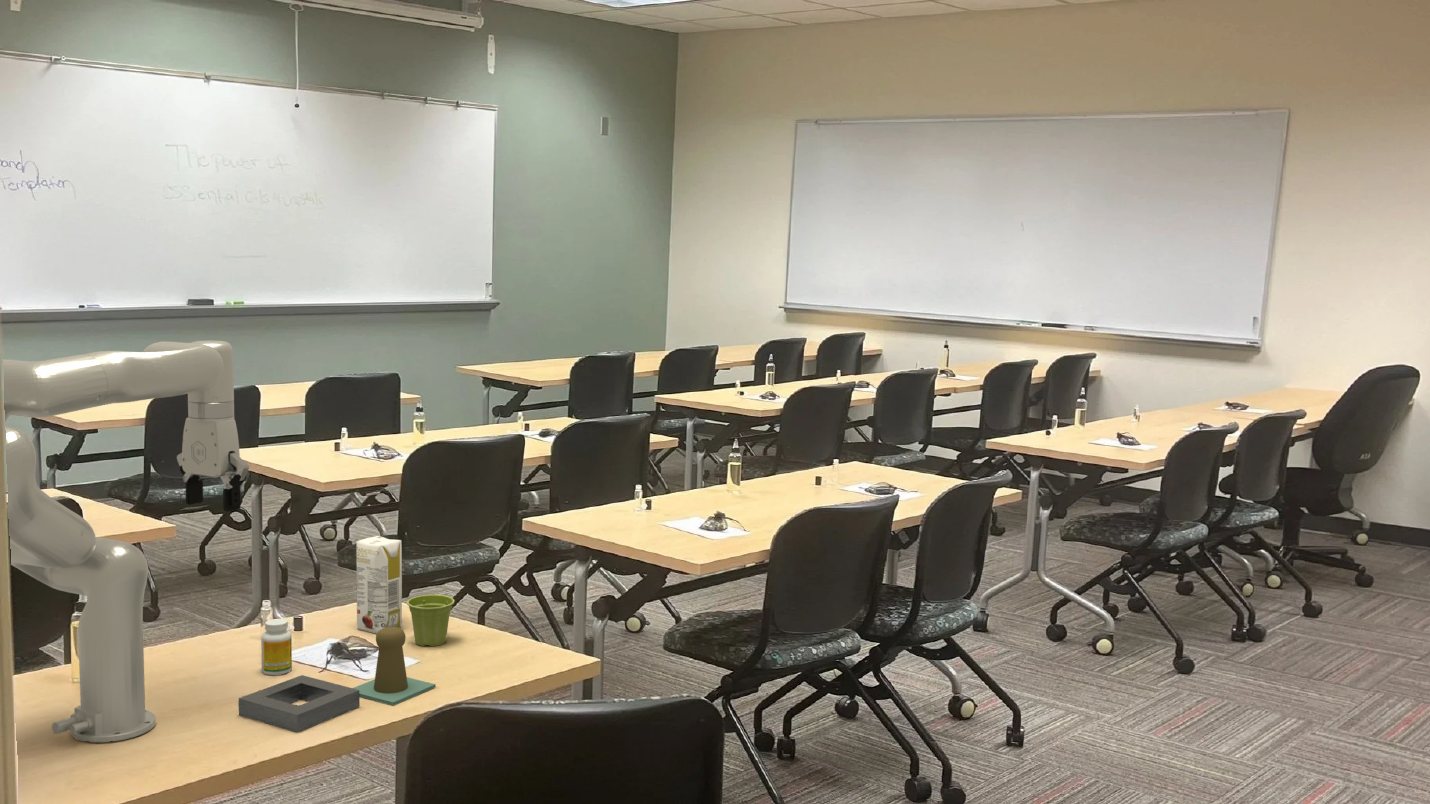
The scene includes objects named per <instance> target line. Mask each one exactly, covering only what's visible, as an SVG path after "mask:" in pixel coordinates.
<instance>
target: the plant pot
mask: <svg viewBox="0 0 1430 804" xmlns="http://www.w3.org/2000/svg"><path fill="white" fill-rule="evenodd" d="M406 604H407V607H408V608H409V612H410V615H411V620H412V621H411V622H412V627H413V628H412V629H413V637H414V643H415V644H416V645H419V646H421V647H425V646H430V647H437V646H441V645H443V644H445V642H446V641H447V635H448V629H449V628H448V627H449V621H450V615H451V611H452V608H453V605H454V604H455V599H454V598H453V597H452V596H449V595H443V594H424V595H418V596H414V597H410V598H408V600H407V601H406Z"/></svg>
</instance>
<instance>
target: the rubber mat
mask: <svg viewBox="0 0 1430 804" xmlns="http://www.w3.org/2000/svg"><path fill="white" fill-rule="evenodd" d="M374 682H375V678H374V679H372V680H369V681H367V682H365V683H361V684H359V685H356V686H354V687H352V688H353V689H357V690H359V694H360V698H363V699H366V700H369V701H374V702H378V703H381V704H386V705H389V706H395V705H398V704H400V703H403V702H406V701H407V700H409V699H412V698H414V697H417V696H420V695H421V694H423V693H426V692H428V691H430V690H433V689H435V688H436V684H435V683H432V682H427V681H425V680H420V679H416V678H412V677H408V676H407V683H408V688H407V689H406V690H404V691H402V692H398V693H379V692H376V691H375V690H374ZM434 687H435V688H434ZM432 688H433V689H432Z"/></svg>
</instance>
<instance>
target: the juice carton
mask: <svg viewBox="0 0 1430 804" xmlns="http://www.w3.org/2000/svg"><path fill="white" fill-rule="evenodd" d="M355 543H356V544H355V545H356V627H357V630H361V631H364V632H369V633H372V634H376V635H377V633H378V631H379V630H381V629H383V628H387V627H398V628H400V629H402V623H403V622H402V621H403V618H402V617H403V615H402V614H403V608H402V606H403V604H402V603H403V595H402V594H403V589H402V588H403V587H402V585H403V580H402V579H403V576H402V575H403V573H402V572H403V571H402V570H403V569H402V567H403V565H402V564H403V563H402V562H403V557H402V555H403V553H402V551H403V547H402V540H401V539H392V538H391V539H389V538H387V537H383V536H380V535H377V536H370V537H366V538H363V539H362V538H361V539H359V540H356V542H355Z"/></svg>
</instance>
